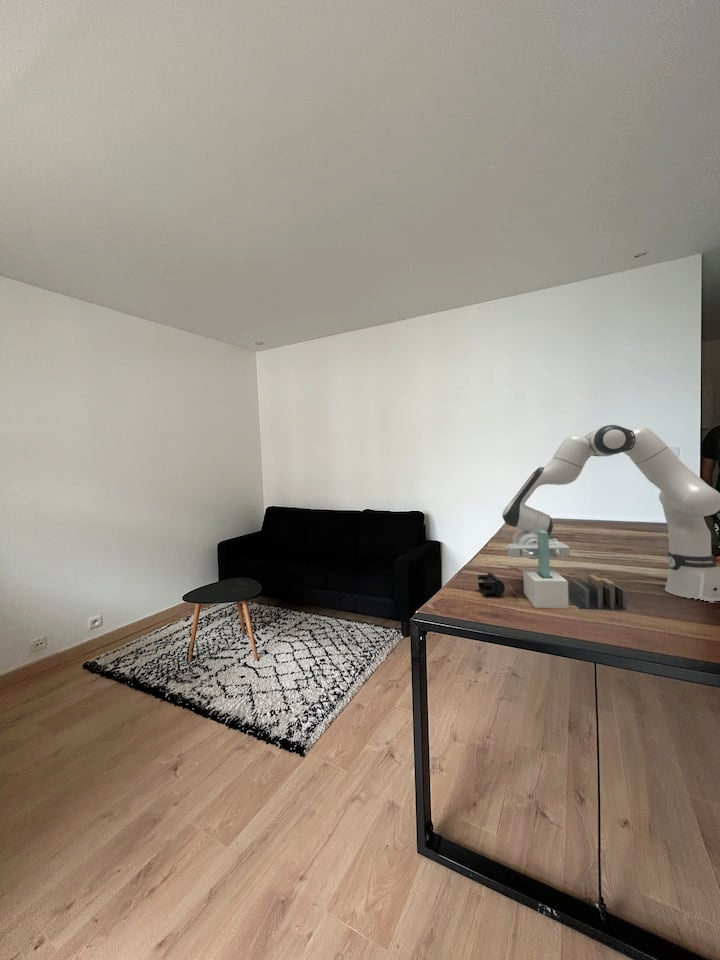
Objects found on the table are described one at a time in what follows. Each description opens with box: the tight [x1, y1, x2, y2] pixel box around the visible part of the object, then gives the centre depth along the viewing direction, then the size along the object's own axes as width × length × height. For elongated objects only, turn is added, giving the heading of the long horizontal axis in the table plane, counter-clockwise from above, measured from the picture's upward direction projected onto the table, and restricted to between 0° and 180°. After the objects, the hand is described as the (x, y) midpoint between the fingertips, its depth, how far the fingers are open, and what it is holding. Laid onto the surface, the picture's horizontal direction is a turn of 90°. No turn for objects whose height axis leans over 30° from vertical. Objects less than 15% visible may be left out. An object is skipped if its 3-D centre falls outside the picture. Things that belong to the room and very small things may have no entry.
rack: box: [567, 576, 635, 611], centre depth 122 cm, size 16×15×7 cm
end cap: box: [477, 572, 506, 598], centre depth 138 cm, size 10×7×7 cm
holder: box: [522, 569, 570, 609], centre depth 125 cm, size 10×14×10 cm
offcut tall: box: [587, 574, 603, 605], centre depth 122 cm, size 2×6×8 cm, turn 170°
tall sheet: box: [537, 530, 551, 578], centre depth 125 cm, size 2×6×24 cm, turn 170°
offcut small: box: [600, 577, 616, 605], centre depth 122 cm, size 2×6×7 cm, turn 170°
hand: (544, 555), depth 124 cm, fingers open, 7 cm apart
